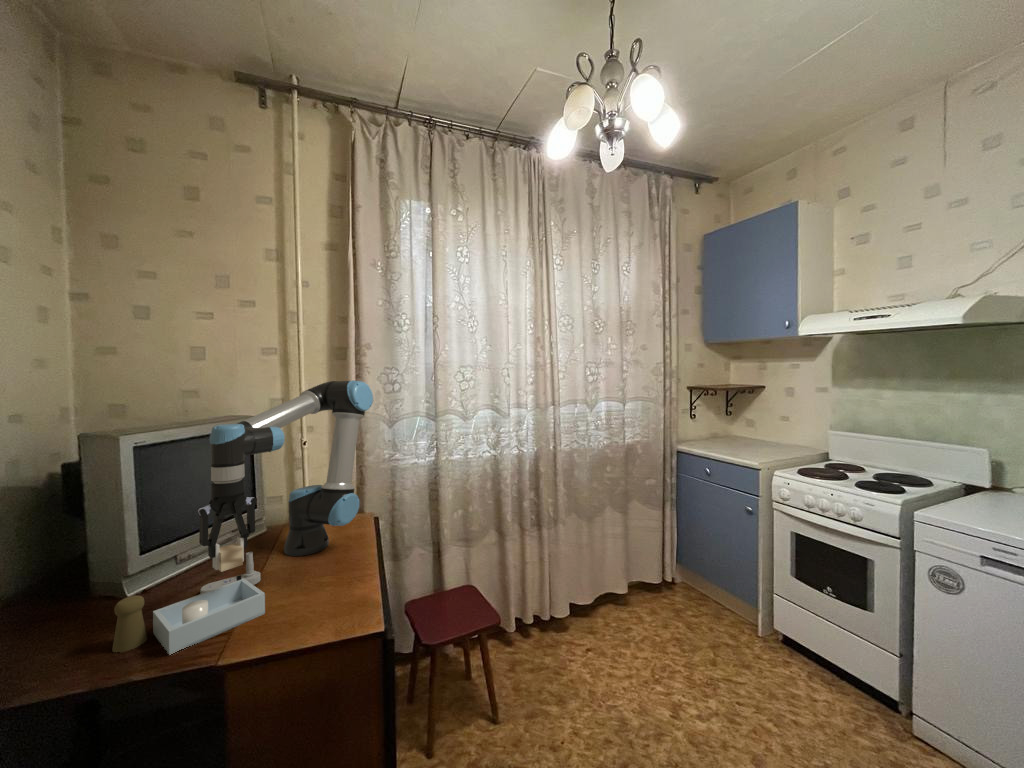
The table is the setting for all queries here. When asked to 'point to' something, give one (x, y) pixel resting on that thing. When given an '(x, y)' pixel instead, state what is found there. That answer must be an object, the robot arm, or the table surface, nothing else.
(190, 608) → the white egg
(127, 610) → the cork
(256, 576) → the electronic device
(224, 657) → the table surface
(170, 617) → the tote
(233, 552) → the beech cube
